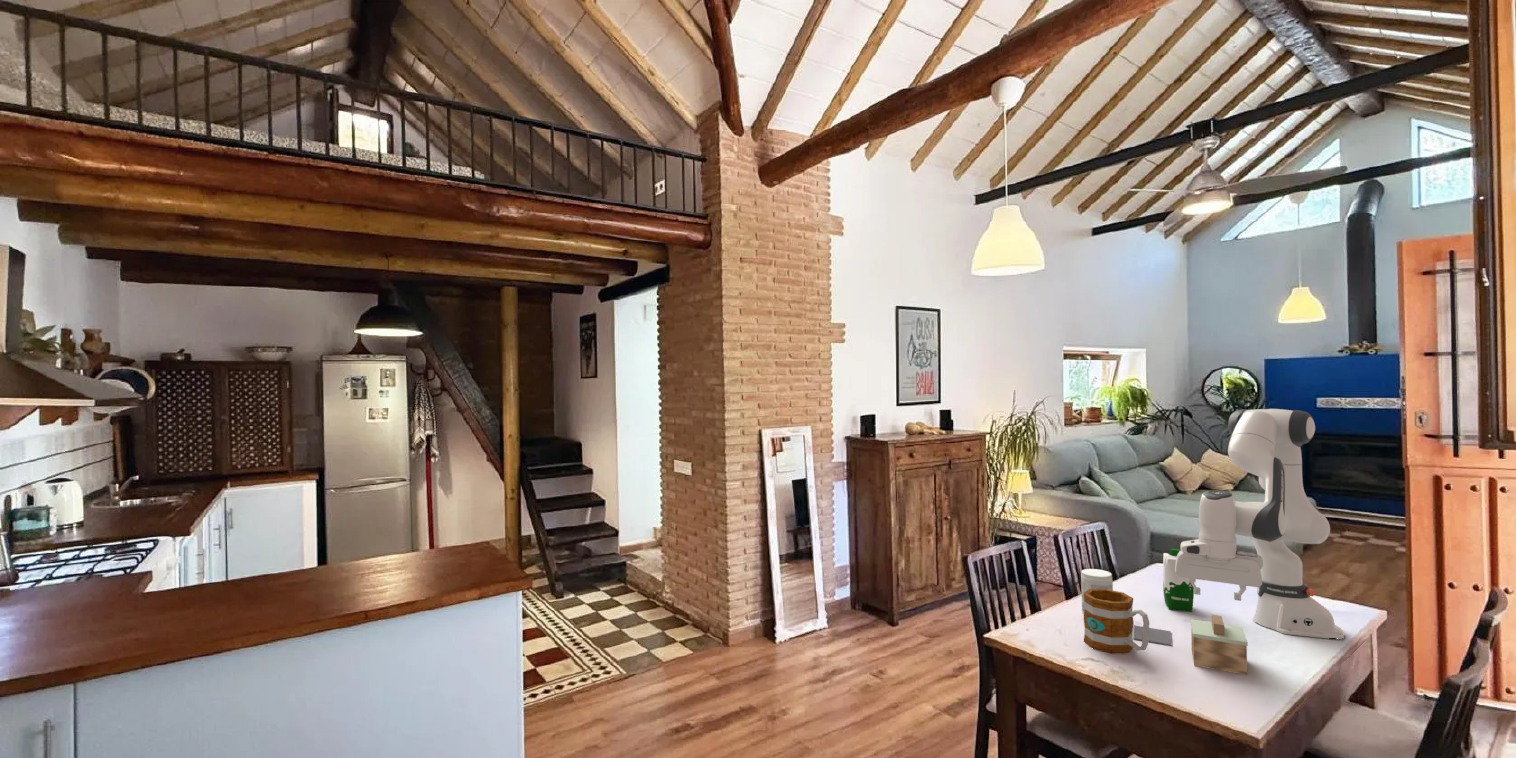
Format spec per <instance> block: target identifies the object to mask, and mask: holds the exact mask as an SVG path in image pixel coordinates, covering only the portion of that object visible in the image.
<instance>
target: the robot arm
mask: <svg viewBox="0 0 1516 758" xmlns="http://www.w3.org/2000/svg"><path fill="white" fill-rule="evenodd" d="M1227 427H1228V432H1229V434H1230V439H1229V442H1228V447H1227V455H1228V457H1229V459H1230V461H1231V462H1232V463H1233V464H1234V465H1235V466H1236V467H1238V468H1240V470H1242V471H1244V472H1246V473H1248V474H1251V475H1254V476H1255V477H1258V483H1259V486H1260V487H1261V488H1262V489H1263V490H1264V501H1263V502H1262V501H1240V500H1239V501H1238V500H1235V497H1234V495H1233V493H1231V492H1229V491H1226V490H1222V489H1221V490H1220V489H1218V490H1216V489H1214V490H1206V491H1205V492H1203V493H1201V496H1200V501H1199V504H1198V505H1199V508H1198V523H1199V527H1200V528H1199V529H1200V530H1199V533H1198V538H1197V539H1190V540H1183V541H1181V542H1180V548H1179V549H1181V551H1179V553H1178V555H1177V558H1176V565H1175V573H1176V575H1177V576H1178V577H1184V578H1190V583H1191V585H1192V586H1193V588H1194V595H1197V596H1200V595H1201V587H1198V586H1197V585H1196V584H1195V583H1196V582H1197V581H1196V580H1199V581H1208V582H1213V583H1214V582H1215V583H1223V584H1228V585H1235V586H1237V585H1238V587H1239V590H1238V591H1237V592H1233V595H1234V596H1233V599H1234V601H1238V602H1239V601H1240V602H1241V601H1242V595H1243V594H1244V593H1245V591H1246V590H1247V587H1253V588H1256V592H1257V596H1258V598H1257V605H1256V609H1255V612H1254V616H1253V621H1254V622H1255V623H1256V624H1259V625H1260V626H1263V627H1266V628H1268V629H1272V630H1274V631H1277V632H1278V633H1281V634H1284V635H1292V636H1293V635H1294V636H1300V637H1301V636H1302V637H1309V638H1310V637H1311V638H1320V639H1329V638H1336V639H1335V640H1339V639H1341V640H1343V639H1345V637H1344V636H1345V631H1344V630H1343V629H1342V628H1341V627H1339V626H1338V625H1336V624H1335V619H1334V616H1333V615H1332V613H1331V612H1330V611H1329V609H1328V608H1326V607H1325V606H1324V605H1322V604H1321V603H1320V602H1319V601H1317V600H1316V599H1314V598H1312V597H1314V596H1315V595H1316V592H1315V591H1314V589H1312V588H1311V587H1310V586H1308V585H1307V584H1306V583H1305V584H1304V583H1303V561H1302V559H1301V558H1300V557H1299V555H1298V554H1296V553H1295V552H1293V550H1291V549H1290V548H1288V546H1287V545H1286V543H1285V541H1287V542H1288V541H1289V542H1293V543H1298V544H1306V545H1308V544H1309V545H1316V544H1317V545H1320V544H1322V543H1324V542H1325V541H1326V540H1327V539H1328V538H1329V536H1330V532H1331V525H1330V523H1329V520H1328V519H1327V518H1326V516H1325V515H1324V514H1322V513H1321V512H1320V511H1318V510H1317V508H1316V507H1314V505H1313V504H1312V503H1311V502H1310V499H1309V498H1308V496H1307V494H1306V492H1305V489H1304V483H1303V482H1304V481H1303V458H1302V449H1301V447H1302V446H1303V445H1305V444H1308V443H1309V442H1310V441H1311V440H1312V439H1313V438H1314V434H1315V431H1316V425H1315V421H1314V418H1313V416H1312V415H1311V414H1310V413H1309V412H1307V411H1303V410H1298V409H1294V410H1291V409H1290V410H1289V409H1283V408H1281V409H1280V408H1261V409H1259V408H1258V409H1248V408H1245V409H1243V408H1242V409H1237V410H1235V411H1234V412H1232V413H1231V414H1230V416H1229V419H1228V423H1227ZM1236 536H1241V537H1242V536H1244V537H1246V538H1247V537H1248V538H1249V539H1250V540H1251V542H1252V544H1253V546H1254V548H1255V551H1256V552H1249V551H1242V550H1237V537H1236ZM1337 638H1338V639H1337ZM1342 638H1343V639H1342Z"/></svg>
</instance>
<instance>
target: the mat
mask: <svg viewBox="0 0 1516 758" xmlns="http://www.w3.org/2000/svg"><path fill="white" fill-rule="evenodd" d="M1142 630H1143V625H1142V626H1141V625H1135V624H1133V637H1132V638H1133V640H1135V641H1141V642H1142ZM1148 643H1151V644H1156V645H1157V644H1158V645H1164V646H1168V647H1172V646H1173V644H1172V633H1171V630H1165V629H1159V628H1154V627H1149V638H1148Z"/></svg>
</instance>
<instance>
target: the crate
mask: <svg viewBox="0 0 1516 758" xmlns="http://www.w3.org/2000/svg"><path fill="white" fill-rule="evenodd" d="M1190 628H1191V627H1190ZM1190 630H1191V632H1190V633H1191V656H1192V660H1193V661H1192V662H1193V665H1194V666H1197V667H1200V668H1201V667H1203V668H1207V669H1213V670H1216V671H1217V670H1218V671H1223V672H1230V673H1235V674H1240V675H1245V676H1247V675H1248V653H1247V652H1248V646H1244V645H1238V644H1232V643H1226V642H1220V641H1214V640H1208V639H1202V638H1196V637H1193V634H1192V628H1191V629H1190Z"/></svg>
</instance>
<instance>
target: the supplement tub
mask: <svg viewBox="0 0 1516 758" xmlns="http://www.w3.org/2000/svg"><path fill="white" fill-rule="evenodd" d="M1113 581H1114V580H1113V574H1112V573H1111V572H1110V571H1107V570H1103V569H1096V568H1085V569H1082V570H1081V574H1080V585H1081V588H1080V589H1081V612H1082V614H1083V615H1084V609H1085V604H1084V594H1083V593H1084V592H1086V591H1087V590H1088V589H1108V590H1113V591H1114V587H1113V586H1114V584H1113Z"/></svg>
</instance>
